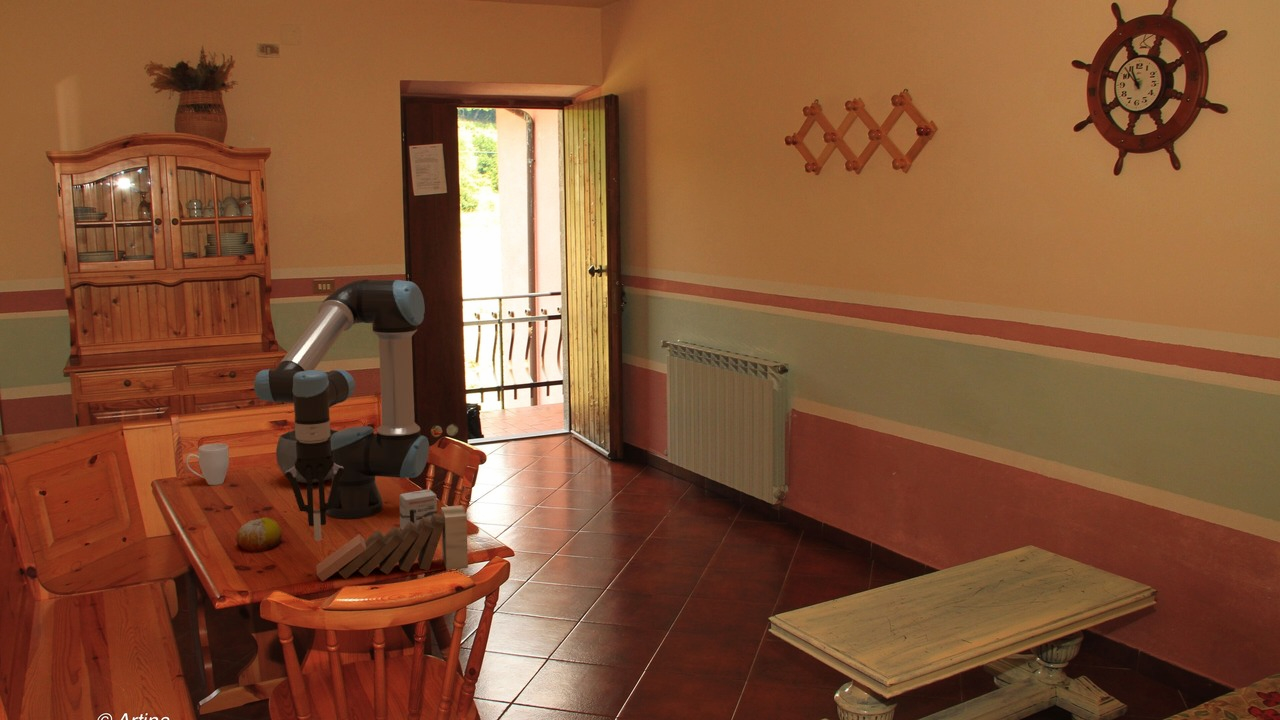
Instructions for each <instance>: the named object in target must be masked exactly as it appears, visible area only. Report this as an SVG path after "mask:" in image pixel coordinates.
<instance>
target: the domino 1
mask: <svg viewBox="0 0 1280 720" xmlns="http://www.w3.org/2000/svg"><path fill="white" fill-rule="evenodd" d="M365 540H366V539H364V538H363V536H362V535H361V534H360V533H358V534H357V535H356V536H355V537H353V538H352V539H350V540H349V541H348V542H346V543H345V544H344V545H342V546H341V547H339V548H338V549H336V550H335V551H333V552H332V553H331V554H330V555H328V556H327V557H326V558H324V559H323V560H321V562H319V563H318V564H316V576H317V577H318V578H319V579H320V581H321V582H322V583H323V582H325V581H326V580H327V579H328V578H330V577H331V576H333V575H334V574H335V573H337V572H339V569H341V568H342V567H343V566H345V565H346V564H347V563H349V562H350V561H351V560H353V559H354V558H356V557H357V556H358V555H360V554H361V553H362V552H364V551H365V550H366V544H365Z"/></svg>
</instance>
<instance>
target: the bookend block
mask: <svg viewBox="0 0 1280 720" xmlns="http://www.w3.org/2000/svg"><path fill="white" fill-rule="evenodd" d="M440 510H441V514H440V515H442V517H443V519H444V522H445V525H444V528H443V531H442V533H441V545H442V546H441V549H442V550H441V551H442V561H443V564H444V566H445V570H446V571H451V570H459V569H461V570H463V569H468V568H469V566H468V565H469V563H468V562H469V561H468V517H467V516H468V515H467V514H466V513H467V512H466V511H465V508H464V506H463V505H462V504H461V505H450V506H441V509H440Z"/></svg>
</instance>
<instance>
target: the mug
mask: <svg viewBox="0 0 1280 720" xmlns="http://www.w3.org/2000/svg"><path fill="white" fill-rule="evenodd" d="M197 453H198V455H197V454H195V453H190V454H188V455H187V456H186V459H185V465H186V468H187V469H188V470H189V471H190V472H192V473H193V474H194V475H196V476H198V477H200V478H202V479H205V480H206V483H207V484H208V486H218V485H222V484H224V481H225V478H226V476H227V472H228V469H229V466H230V465H229V463H230V458H229V457H230V455H229V453H230V452H229V446H228V444H226V443H221V442H219V443H217V442H215V443H208V444H203V445H200V446H198V452H197ZM191 457H194V458H196V459H197V460H198V464H199V468H200V471H201V473H202V474H199V473H198V472H196V471H195V470H193V468H191V467H190V465H189V459H190V458H191Z"/></svg>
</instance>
